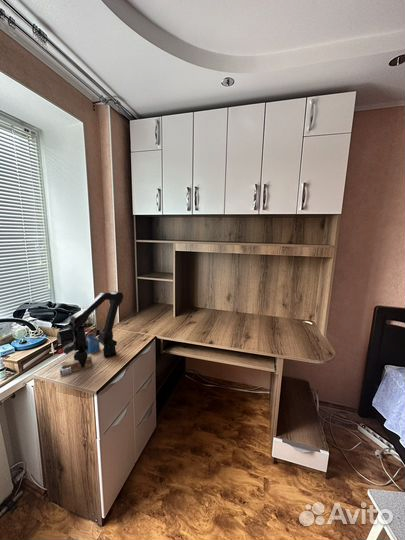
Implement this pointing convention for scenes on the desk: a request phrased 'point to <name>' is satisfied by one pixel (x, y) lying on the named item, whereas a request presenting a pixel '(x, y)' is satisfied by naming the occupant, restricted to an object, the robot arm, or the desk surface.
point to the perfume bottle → (92, 343)
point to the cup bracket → (65, 371)
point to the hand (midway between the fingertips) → (83, 363)
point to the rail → (77, 364)
